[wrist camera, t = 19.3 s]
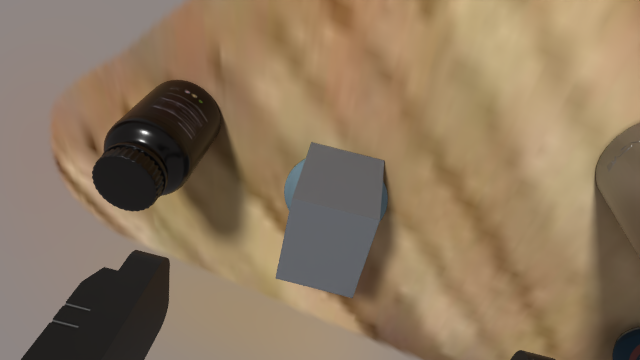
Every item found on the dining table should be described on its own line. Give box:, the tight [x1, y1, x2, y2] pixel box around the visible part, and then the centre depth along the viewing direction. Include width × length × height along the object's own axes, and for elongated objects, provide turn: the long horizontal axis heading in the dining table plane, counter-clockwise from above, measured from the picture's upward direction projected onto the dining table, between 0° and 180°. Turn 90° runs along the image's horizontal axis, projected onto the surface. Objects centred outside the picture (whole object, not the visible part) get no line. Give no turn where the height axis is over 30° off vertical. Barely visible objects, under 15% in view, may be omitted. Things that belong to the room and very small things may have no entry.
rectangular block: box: [276, 142, 384, 298], centre depth 42 cm, size 7×9×9 cm
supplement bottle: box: [92, 80, 221, 211], centre depth 38 cm, size 7×7×12 cm
